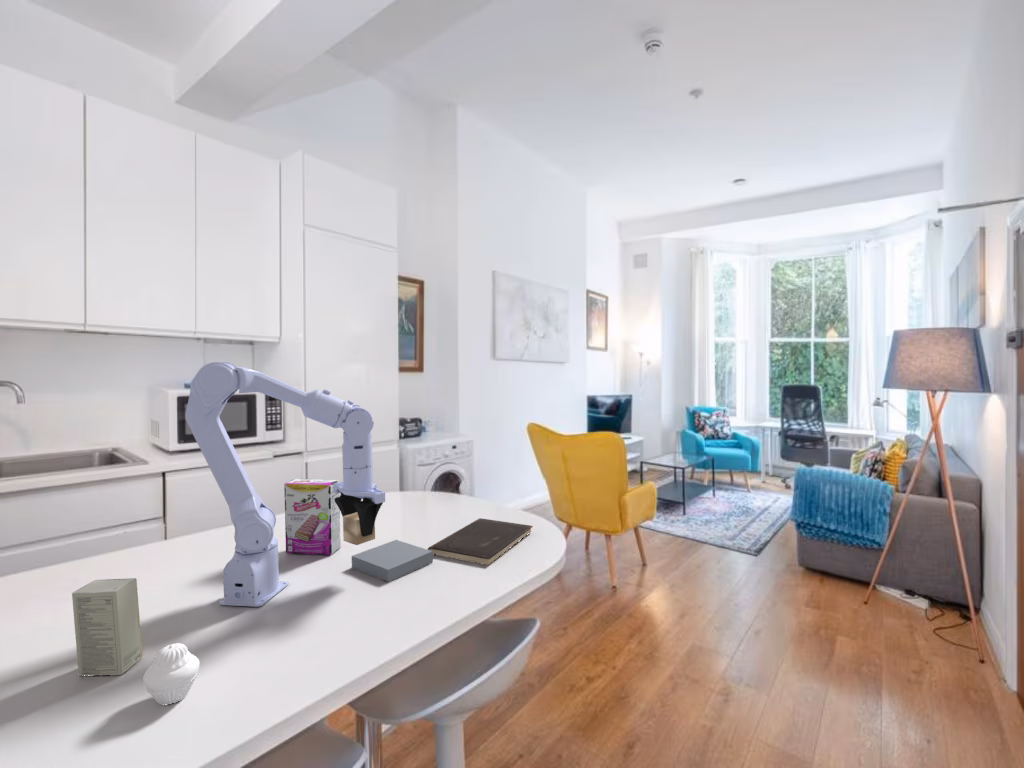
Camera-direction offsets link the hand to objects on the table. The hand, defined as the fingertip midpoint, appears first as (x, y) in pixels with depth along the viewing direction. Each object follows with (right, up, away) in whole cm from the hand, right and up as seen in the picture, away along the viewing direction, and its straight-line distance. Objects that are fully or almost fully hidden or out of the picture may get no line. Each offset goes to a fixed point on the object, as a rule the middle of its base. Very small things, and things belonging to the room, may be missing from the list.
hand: (359, 532), depth 102 cm
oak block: (0, -2, 0) cm, 2 cm away
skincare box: (-27, -11, -30) cm, 41 cm away
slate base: (+5, -9, +6) cm, 12 cm away
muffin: (-13, -11, -36) cm, 40 cm away
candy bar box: (-15, -9, +14) cm, 22 cm away
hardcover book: (+24, -9, +19) cm, 32 cm away
